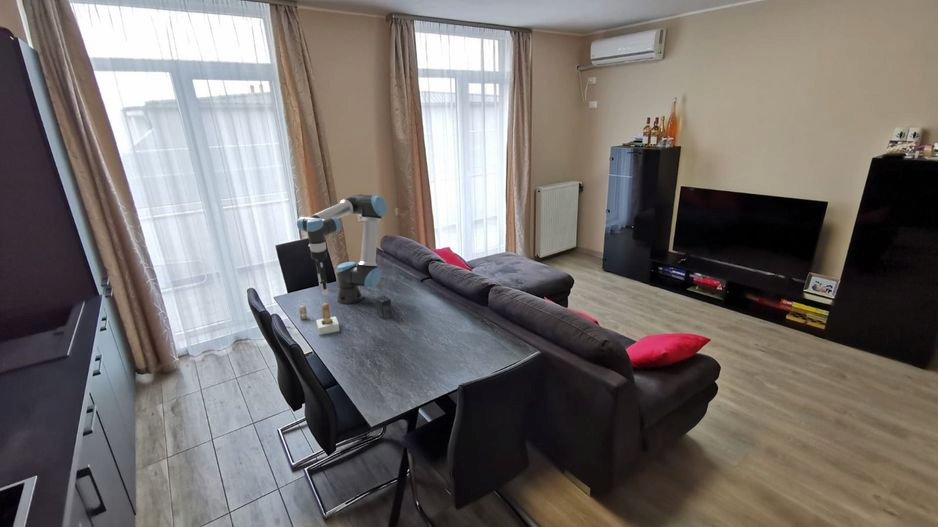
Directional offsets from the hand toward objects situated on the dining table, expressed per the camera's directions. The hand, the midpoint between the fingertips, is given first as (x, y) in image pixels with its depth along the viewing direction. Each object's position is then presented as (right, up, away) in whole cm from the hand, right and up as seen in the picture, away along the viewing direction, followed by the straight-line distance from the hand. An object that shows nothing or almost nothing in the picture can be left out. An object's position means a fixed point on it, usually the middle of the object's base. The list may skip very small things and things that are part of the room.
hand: (323, 289), depth 209 cm
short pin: (-18, -17, +19) cm, 31 cm away
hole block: (0, -21, +7) cm, 22 cm away
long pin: (0, -21, +7) cm, 22 cm away
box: (+26, -16, +22) cm, 38 cm away
